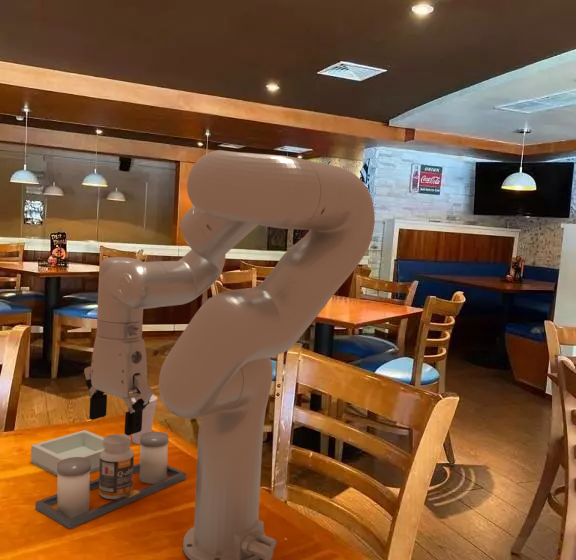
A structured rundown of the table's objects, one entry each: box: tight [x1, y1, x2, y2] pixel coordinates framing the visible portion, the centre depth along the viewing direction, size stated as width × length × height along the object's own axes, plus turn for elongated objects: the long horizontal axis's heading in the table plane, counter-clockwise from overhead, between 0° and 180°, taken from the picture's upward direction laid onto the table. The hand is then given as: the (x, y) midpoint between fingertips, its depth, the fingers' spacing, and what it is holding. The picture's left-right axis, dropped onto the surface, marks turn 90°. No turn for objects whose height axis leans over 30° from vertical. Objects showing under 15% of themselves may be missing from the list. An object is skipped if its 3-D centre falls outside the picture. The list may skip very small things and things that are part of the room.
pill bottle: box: [98, 433, 135, 500], centre depth 104 cm, size 6×6×10 cm
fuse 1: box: [56, 457, 91, 518], centre depth 97 cm, size 5×5×8 cm
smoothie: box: [131, 394, 158, 445], centre depth 128 cm, size 6×6×14 cm
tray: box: [30, 429, 105, 477], centre depth 116 cm, size 12×12×4 cm
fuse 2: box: [138, 431, 170, 485], centre depth 111 cm, size 5×5×8 cm
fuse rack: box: [34, 462, 187, 530], centre depth 104 cm, size 10×25×1 cm, turn 144°
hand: (114, 425), depth 103 cm, fingers open, 9 cm apart
